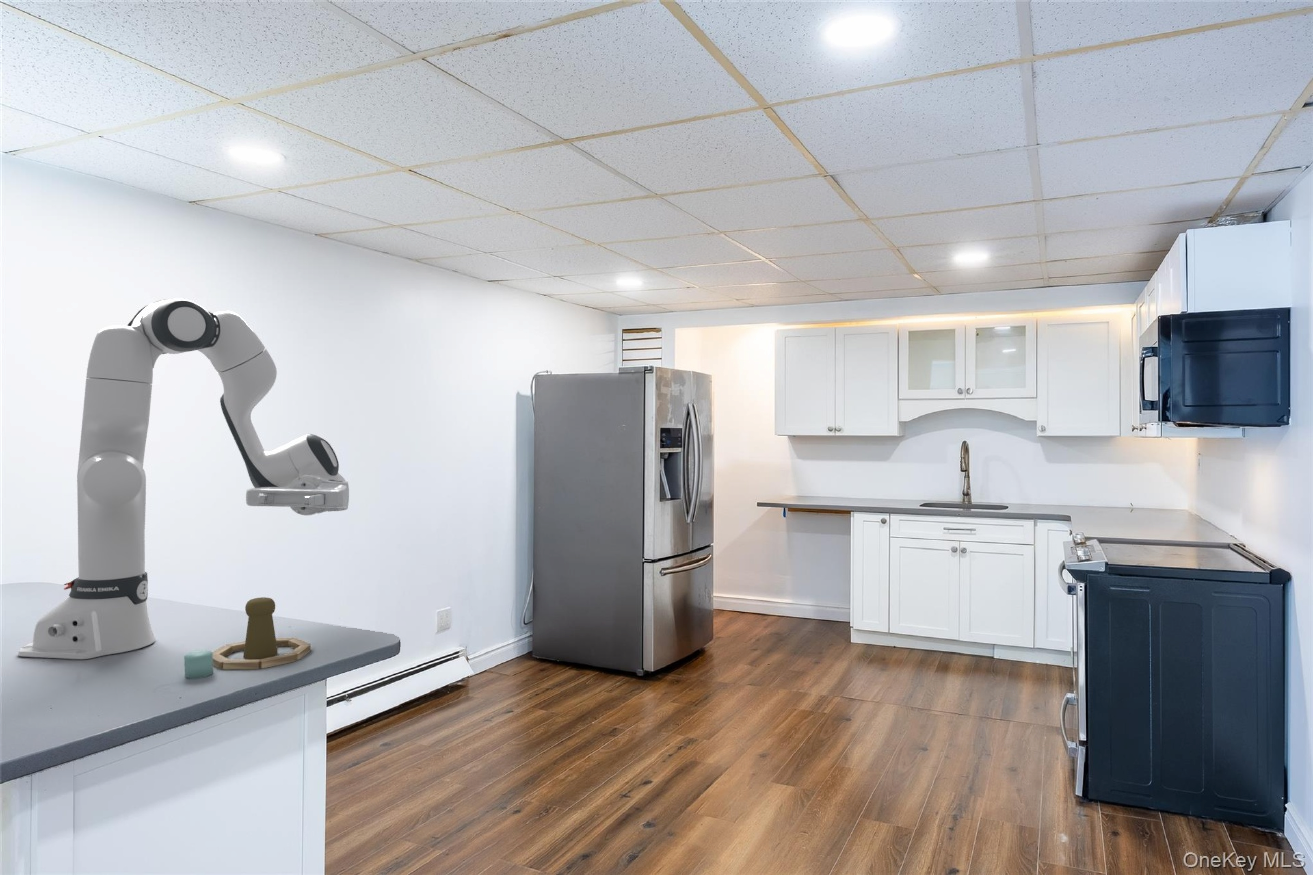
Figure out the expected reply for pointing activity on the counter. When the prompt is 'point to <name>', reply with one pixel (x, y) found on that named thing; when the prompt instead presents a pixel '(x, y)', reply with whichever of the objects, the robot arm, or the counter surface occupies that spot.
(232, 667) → the wooden segmented ring
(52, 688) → the counter surface
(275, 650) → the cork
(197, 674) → the loose bead
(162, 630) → the counter surface
